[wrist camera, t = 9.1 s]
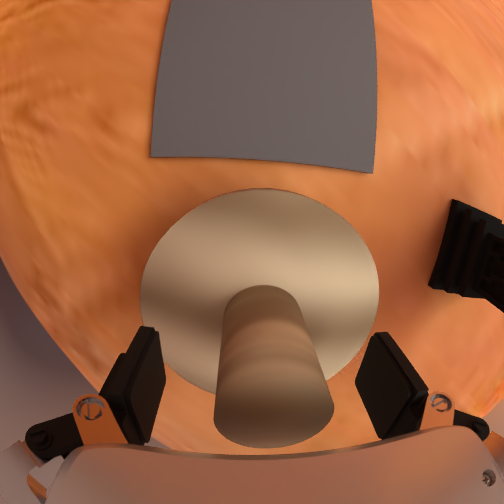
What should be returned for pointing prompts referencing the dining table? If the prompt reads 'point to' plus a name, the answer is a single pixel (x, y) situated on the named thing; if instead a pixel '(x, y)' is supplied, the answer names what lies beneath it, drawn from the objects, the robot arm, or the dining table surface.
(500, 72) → the dining table surface
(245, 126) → the rubber mat
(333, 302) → the lid
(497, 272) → the chess piece
